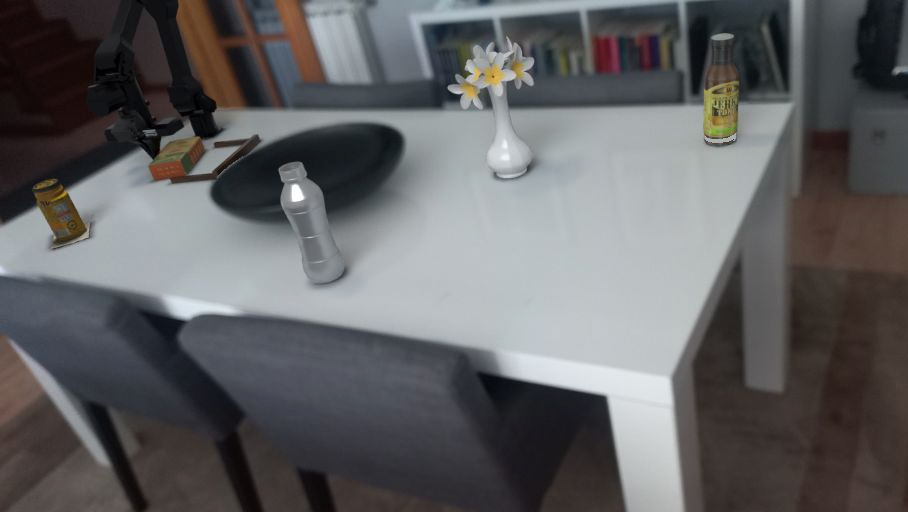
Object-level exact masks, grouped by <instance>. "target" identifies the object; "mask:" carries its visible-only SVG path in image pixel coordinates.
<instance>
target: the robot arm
mask: <svg viewBox="0 0 908 512" xmlns="http://www.w3.org/2000/svg"><path fill="white" fill-rule="evenodd" d="M179 8H180V4H179V0H120V2H119V5H118V8H117V10H116V14H115V17H114V21H113V23H112V26H111V30H110V32H109V35H108V36H107V38H105V39H104V40H103V41H102V42H101V43H100V44H99V46H98V47H97V49H96V51H95V53H94V55H93V62H94V65H93V66H94V67H93V84H94V85H90V86H88V87H87V88H86V89H87V91H88V93H87V95H86V98H85V99H86V103H85V104H86V106H87V108H88V109H89V110H90V111H91V113H93V114H94V115H96V116H98V117H103V118H104V117H106V116H108V115H110V114H111V113H114V112H115V111H117V114H118V120H116V121H115V122H114V123H113V124H111V125H110V126H108V127H107V128H105V129H104V131H103V136H104V137H105V140H106V142H115V141H116V142H118V143H124V142H128V143H133V144H135V145H138V146H139V147H140V148H141V149H142V150H143V151H144V152H145V153H146V154H147V155H148V156H149V158H150V159H152V161H153V160H154V159H155V157H156V156H157V155H158V154H159V153H160V152H161V144H162V143H161V142H162V137H171V136H173V135H175V134H177V133H178V132H179V131H180V130H182V129H184V128H185V125H184V122H183V120H182V119H181V118H185V117H188V120H189V122H190V126H191V128H192V131H193V133H194V135H193V137H200V138H201V140H202V139H203V140H205V139H211V138H214V137H215V136H217V135H218V134H219V133H220V132H222V131H223V130H224V127H218V125H217V122H216V120H215V117H214V114H213V113H216V110H218V107H217V101H216V100H215V99H214V98H213V97H212V98H211V96H209V95H207V94H205V91H204V88H203V86H202V84H201V83H200V82H199V81H198V80H197V79H196V78H195V77H194V75H193V74H192V70H191V66H190V63H189V59H188V56H187V52H186V49H185V45H184V42H183V39H182V35H181V32H180V27H179V24H178V21H177V15H178V11H179ZM143 10H145V12H146V13H147V14H148V15H149V16H150V17H151V18H152V20H154V23H155V24H156V28H157V32H158V35H159V39H160V42H161V45H162V48H163V49H162V50H163V52H164V55H165V59H166V62H167V66H168V69H169V72H170V76H171V81H170V85H169V86H166V92H167V94H168V97H169V98H168V99H169V103H170V104H171V106H172V107H173V109H174V110H176V112H177V113H178V115H179V116H180V117H181V118H180V117H178V116H173V117H165V118H163V119H161V120H160V121H159V122H157V121H158V120H157V116H152V114H151V111H150V109H149V106H150V105H151V103H150V100H145V98H144V97H145V96H144V95H143V92H142V90H141V87H140V85H139V83H138V81H137V79H138V78H140V77H141V76H142V73H141V72H139V71H136V70H135V69H134V63H135V55H136V53H135V50H134V48H133V42H134V39H135V36H136V33H137V31H138V26H139V23H140V20H141V17H142V14H143V12H144V11H143ZM156 122H157V123H156Z"/></svg>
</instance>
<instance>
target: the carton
mask: <svg viewBox="0 0 908 512" xmlns="http://www.w3.org/2000/svg"><path fill="white" fill-rule="evenodd" d="M205 152H206V148H205V145H204V143H203V141H202V139H201V138H200V137H194V136H192V137H186V138H181V139H175V140H170V141H169V142H168V143H167V144H165V146H164V147H163V148H162V149H161V150H160V153H159V154H158V155H157V156H156V157H155V159H154V160H153V159H152V161H151V162H150V163H149V164H147V167H148V170H149V173H150V175H151V177H152V180H153V181H161V180H166V179H167V180H168V179H171V178H172V177H176V176H187V175H189V173H190V171H191V170H192V168H193V167H194V166H195V165H196V163H197V161H198V160H199V159H200V158H201V157H202V156H203V154H204V153H205Z"/></svg>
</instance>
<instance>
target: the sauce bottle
mask: <svg viewBox="0 0 908 512" xmlns="http://www.w3.org/2000/svg"><path fill="white" fill-rule="evenodd" d="M734 45H735V35H734V34H732V33H725V32H724V33H717V34H713V35H712V36H711V37H710V47H711V56H710V57H711V58H710V64H709V66H708V68H707V69H706V71H705V74H704V87H703V121H702V122H703V125H702V126H703V127H702V129H703V131H702V132H703V136H704V135H705V136H706V137H707V138H710V139H723V138H728V137H730V136H732V135H734V134H735V133H736V134H737V132H738V122H739V97H740V96H739V94H740V93H739V92H740V81H739V79H740V78H739V76H740V74H739V71H738V68H737V67H736V64H735V63H734ZM733 140H734V139H733ZM733 140H731V141H729V142H723V143H712V142H708V141H706V140H705V139H704V138H703V141H704V142H705V144H707V145H710V146H715V147H716V146H717V147H724V146H729V145H730V144H733V143H735V142H736V141H733Z"/></svg>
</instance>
